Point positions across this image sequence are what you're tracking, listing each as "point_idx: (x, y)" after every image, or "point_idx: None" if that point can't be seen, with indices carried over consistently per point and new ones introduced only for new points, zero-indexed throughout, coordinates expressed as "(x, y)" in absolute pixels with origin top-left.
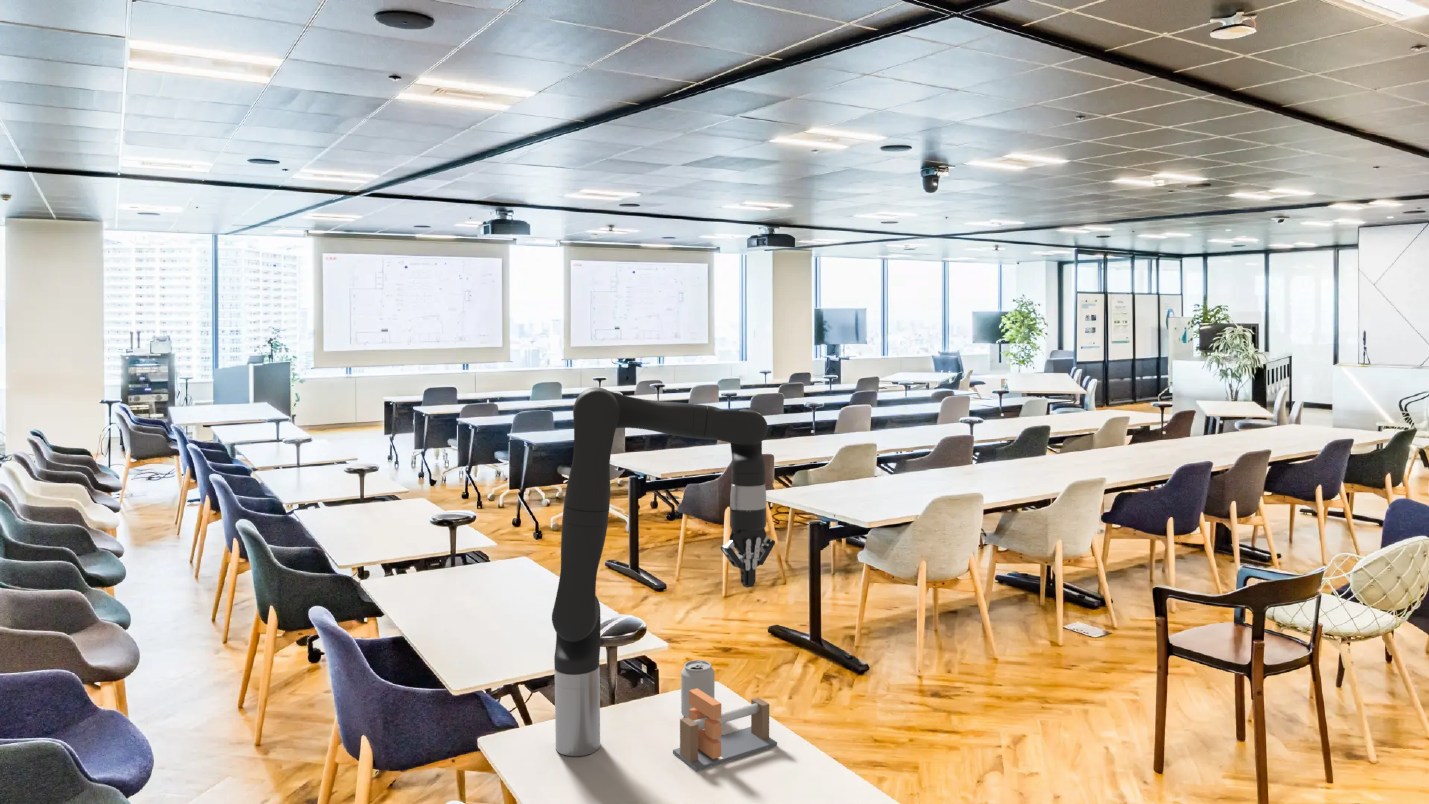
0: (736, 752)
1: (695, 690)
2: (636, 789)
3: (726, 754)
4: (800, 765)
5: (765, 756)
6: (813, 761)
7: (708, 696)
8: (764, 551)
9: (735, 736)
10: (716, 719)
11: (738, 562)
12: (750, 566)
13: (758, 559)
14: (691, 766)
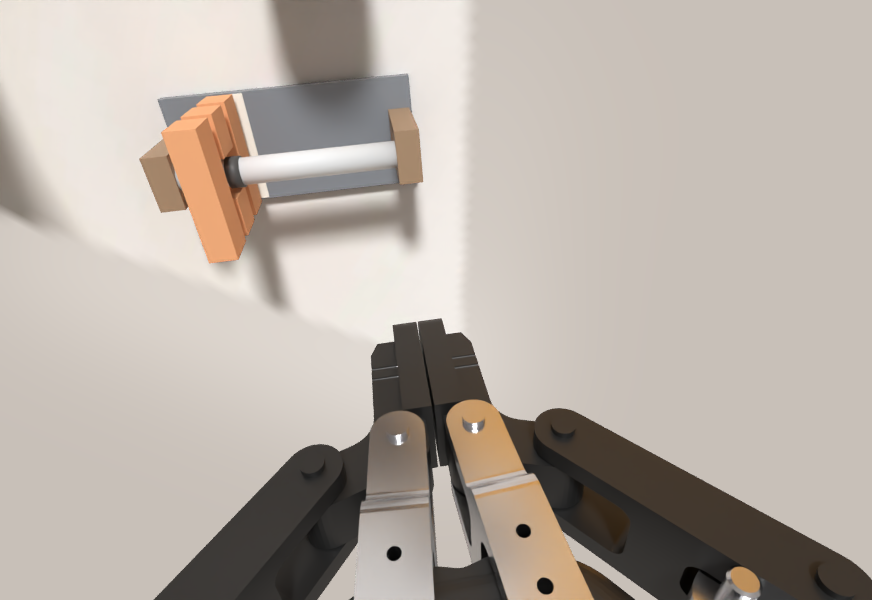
0: (309, 184)
1: (184, 143)
2: (43, 216)
3: (283, 182)
4: (413, 265)
5: (369, 207)
6: (444, 262)
7: (215, 204)
8: (637, 575)
9: (342, 108)
10: (254, 183)
11: (302, 575)
12: (451, 471)
13: (551, 502)
14: None
